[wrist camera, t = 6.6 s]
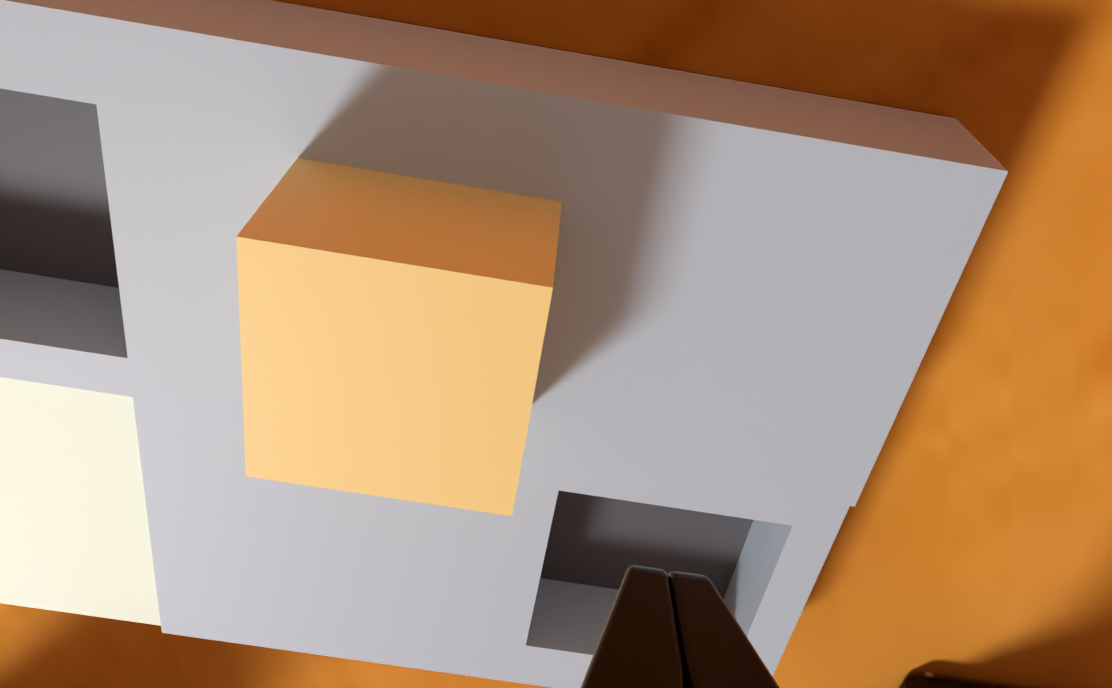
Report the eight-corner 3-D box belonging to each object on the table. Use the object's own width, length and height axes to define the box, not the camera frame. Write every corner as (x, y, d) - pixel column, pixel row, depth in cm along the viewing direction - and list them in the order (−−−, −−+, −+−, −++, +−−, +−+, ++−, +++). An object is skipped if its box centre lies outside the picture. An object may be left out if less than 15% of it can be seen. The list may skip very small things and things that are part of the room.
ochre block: (561, 201, 15) (553, 287, 13) (525, 409, 18) (512, 516, 15) (297, 157, 15) (236, 236, 13) (296, 374, 18) (245, 476, 15)
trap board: (956, 118, 17) (1007, 171, 15) (742, 639, 25) (755, 723, 23) (-193, -80, 16) (-319, -56, 14) (-28, 528, 24) (-91, 604, 22)
